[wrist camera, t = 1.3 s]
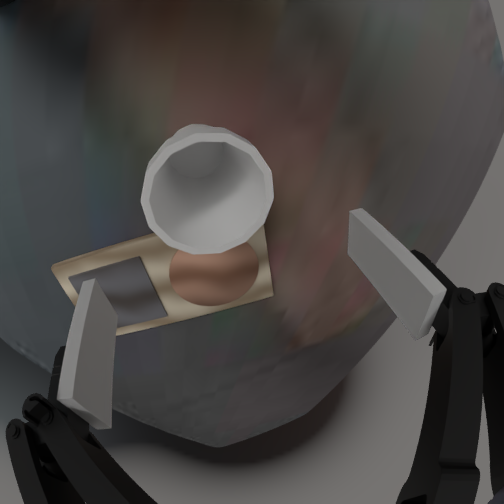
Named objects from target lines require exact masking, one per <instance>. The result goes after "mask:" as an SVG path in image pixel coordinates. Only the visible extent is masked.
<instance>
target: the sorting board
mask: <svg viewBox="0 0 504 504" xmlns="http://www.w3.org/2000/svg"><path fill="white" fill-rule="evenodd" d="M51 270H52V271H53V273H54V275H55V276H56V278H57V279H58V281H59V283H60V284H61V286H62V287H63V289H64V290H65V292H66V293H67V295H68V296H69V298H70V299H71V301H72V302H73V304H74V305H75V307H76V304H77V300H78V297H79V293H80V290H81V287H82V283H83V281H87V280H90V279H94V278H96V280H97V282H98V283H99V285H100V287H101V289H102V290H103V292H104V294H105V295H106V297H107V299H108V300H109V302H110V304H111V305H112V307H113V308H114V310H115V312H116V313H117V315H118V321H117V330H116V336H117V335H122V334H126V333H131V332H135V331H140V330H144V329H148V328H153V327H157V326H161V325H165V324H169V323H174V322H178V321H182V320H186V319H190V318H194V317H198V316H202V315H205V314H209V313H213V312H217V311H221V310H224V309H228V308H232V307H236V306H239V305H243V304H246V303H250V302H254V301H257V300H261V299H264V298H268V297H271V296H274V295H273V288H272V281H271V273H270V266H269V259H268V252H267V244H266V237H265V230H264V224H263V225H262V226H261V227H260V228H259V229H258V230H257V231H256V232H255V233H254V234H253V235H252V236H251V237H250V238H249V239H248V240H247V241H246V242H245V243H242V244H240V245H238V246H236V247H233V248H231V249H229V250H227V251H224V252H222V253H215V254H196V255H193V254H190V253H187V252H184V251H182V250H179V249H176V248H173V247H170V246H168V245H167V244H166V243H165V242H164V241H163V240H162V239H161V238H160V237H159V236H157V235H156V234H155V233H152V234H148V235H145V236H141V237H138V238H135V239H131V240H128V241H125V242H121V243H118V244H115V245H111V246H108V247H105V248H102V249H98V250H95V251H92V252H89V253H86V254H83V255H80V256H76V257H73V258H70V259H67V260H64V261H61V262H58V263H55V264H53V265H52V268H51Z"/></svg>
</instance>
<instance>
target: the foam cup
mask: <svg viewBox="0 0 504 504" xmlns="http://www.w3.org/2000/svg"><path fill="white" fill-rule="evenodd" d="M273 200H274V192H273V181H272V171H271V170H270V168H269V167H268V165H267V164H266V162H265V161H264V159H263V158H262V156H261V155H260V153H259V152H258V150H257V149H256V147H255V146H254V145H252V144H251V143H250V142H249V141H248V140H247V139H245V138H243V137H241V136H239V135H237V134H235V133H233V132H231V131H230V130H228V129H226V128H224V127H212V126H209V125H205V124H190V125H188V126H186V127H183V128H181V129H179V130H178V131H177V132H176V133H175V134H174V136H173V137H171V138H169V139H167V140H166V141H165V142H164V143H163V145H162V146H161V147H160V148H159V150H158V151H157V152H156V153H155V155H154V156H153V157H152V159H151V160H150V161H149V163H148V166H147V170H146V174H145V179H144V184H143V190H142V195H141V204H142V208H143V211H144V214H145V217H146V220H147V223H148V226H149V228H150V229H151V230H152V231H153V232H154V233H155V234H156V235H157V236H159V237H160V238H161V239H162V240H163V241H164V242H165V243H166V244H167V245H168V246H170V247H173V248H176V249H179V250H182V251H184V252H187V253H190V254H193V255H196V254H215V253H222V252H224V251H227V250H229V249H231V248H233V247H236V246H238V245H240V244H242V243H245V242H246V241H247V240H248V239H249V238H250V237H251V236H252V235H253V234H254V233H255V232H256V231H257V230H258V229H259V228H260V227H261V226H262V225H263V224H264V223H265V220H266V218H267V215H268V212H269V210H270V207H271V205H272V202H273Z"/></svg>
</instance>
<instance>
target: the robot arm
mask: <svg viewBox="0 0 504 504" xmlns="http://www.w3.org/2000/svg"><path fill="white" fill-rule="evenodd" d="M12 1H14V0H0V6H3V5H6V4H8V3H10V2H12ZM347 254H348V255H349V256H350V258H351V259H352V260H353V261H354V262H355V264H356V265H357V266H358V267H359V268H360V270H361V271H362V272H363V273H364V275H365V276H366V277H367V278H368V280H369V281H370V282H371V283H372V285H373V286H374V287H375V288H376V290H377V291H378V292H379V293H380V295H381V296H382V297H383V299H384V300H385V301H386V302H387V304H388V305H389V306H390V308H391V309H392V310H393V312H394V313H395V314H396V316H397V317H398V318H399V319H400V321H401V322H402V324H403V325H404V326H405V328H406V329H407V330H408V332H409V333H410V334H411V336H412V337H413V339H414V340H415V341H416V340H418V339H420V338H422V337H423V336H425V335H427V334H428V333H429V330H430V328H431V326H433V327H434V328H435V330H436V331H435V333H434V335H433V337H432V339H431V341H430V344H429V346H431V345H432V343H433V341H434V345H433V356H432V366H431V375H430V383H429V390H428V396H427V403H426V408H425V414H424V419H423V424H422V429H421V434H420V438H419V442H418V446H417V450H416V454H415V458H414V461H413V465H412V468H411V472H410V475H409V477H408V479H407V481H406V483H405V484H404V485H403V487H402V489H401V492H400V494H399V496H398V499H397V502H396V504H474V501H475V497H476V493H477V489H478V485H479V481H480V471H479V469H478V468H477V467H476V465H475V459H476V453H477V445H478V439H479V431H480V422H481V411H482V395H483V397H484V403H485V410H486V418H487V426H488V436H489V450H490V473H491V485H492V490H493V495H494V497H493V499H492V500H490V501H489V502H488V504H504V285H502V284H500V283H492V284H491V285H490V286H489V287H488V290H487V292H484V293H477V294H475V293H474V292H473V291H471V290H470V289H467V288H461V287H460V288H457V287H456V286H455V285H454V284H453V283H452V282H451V281H450V280H449V279H448V278H447V277H446V276H445V275H444V274H443V273H442V272H441V271H440V270H439V269H438V268H437V267H436V266H435V265H434V264H433V263H431V261H430V260H429V259H428V258H427V257H426V256H425V255H424V254H422V253H420V252H418V251H416V250H412V251H409V250H408V249H407V248H406V247H405V246H404V245H402V244H401V243H400V242H399V241H398V240H397V239H396V238H395V237H394V236H393V235H392V234H391V233H390V232H388V231H387V230H386V229H385V228H384V227H383V226H382V225H381V224H380V223H378V222H377V221H376V220H375V219H374V218H373V217H372V216H371V215H369V214H368V213H367V212H366V211H365V210H364V209H362V208H359V209H355V210H351V211H349V234H348V252H347ZM117 321H118V315H117V313H116V312H115V310H114V308H113V307H112V305H111V304H110V302H109V300H108V299H107V297H106V295H105V294H104V292H103V290H102V289H101V287H100V285H99V283H98V282H97V280H96V278H94V279H90V280H87V281H83V283H82V287H81V290H80V293H79V297H78V300H77V304H76V307H75V311H74V315H73V319H72V323H71V327H70V331H69V335H68V340H67V344H66V346H62V347H60V349H59V351H58V353H57V354H56V356H55V361H54V368H53V371H52V377H51V381H50V387H49V393H48V400H47V399H45V398H44V397H43V396H42V395H41V394H37V393H35V394H31V395H30V396H28V397H27V399H26V400H25V402H24V404H23V408H22V414H23V417H24V418H25V419H26V420H28V421H29V422H27V423H24V422H22V421H21V420H19V419H13V420H11V421H10V422H9V424H8V425H7V428H6V440H7V445H8V449H9V454H10V458H11V462H12V466H13V470H14V473H15V477H16V480H17V483H18V486H19V490H20V493H21V495H22V499H23V501H24V504H85V502H86V504H157V502H155V501H154V500H153V499H152V498H151V497H150V496H148V494H147V493H146V492H145V491H143V489H142V488H141V487H139V486H138V485H137V484H136V483H135V481H134V480H132V478H131V477H130V476H129V475H128V474H127V473H126V472H125V471H124V470H123V469H122V468H121V467H120V466H119V465H118V463H117V462H116V461H115V460H114V459H113V458H112V457H111V455H110V454H109V453H108V452H107V451H106V450H105V449H104V447H103V446H102V445H101V444H100V442H99V441H98V440H97V439H96V438H95V436H94V435H93V434H92V433H91V432H90V431H89V424H90V425H92V426H93V427H94V428H96V429H108V428H111V425H112V424H111V422H112V421H111V419H112V417H111V416H112V381H113V364H114V351H115V340H116V330H117ZM494 328H495V329H496V331H497V333H496V332H495V329H494ZM84 501H85V502H84Z"/></svg>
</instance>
